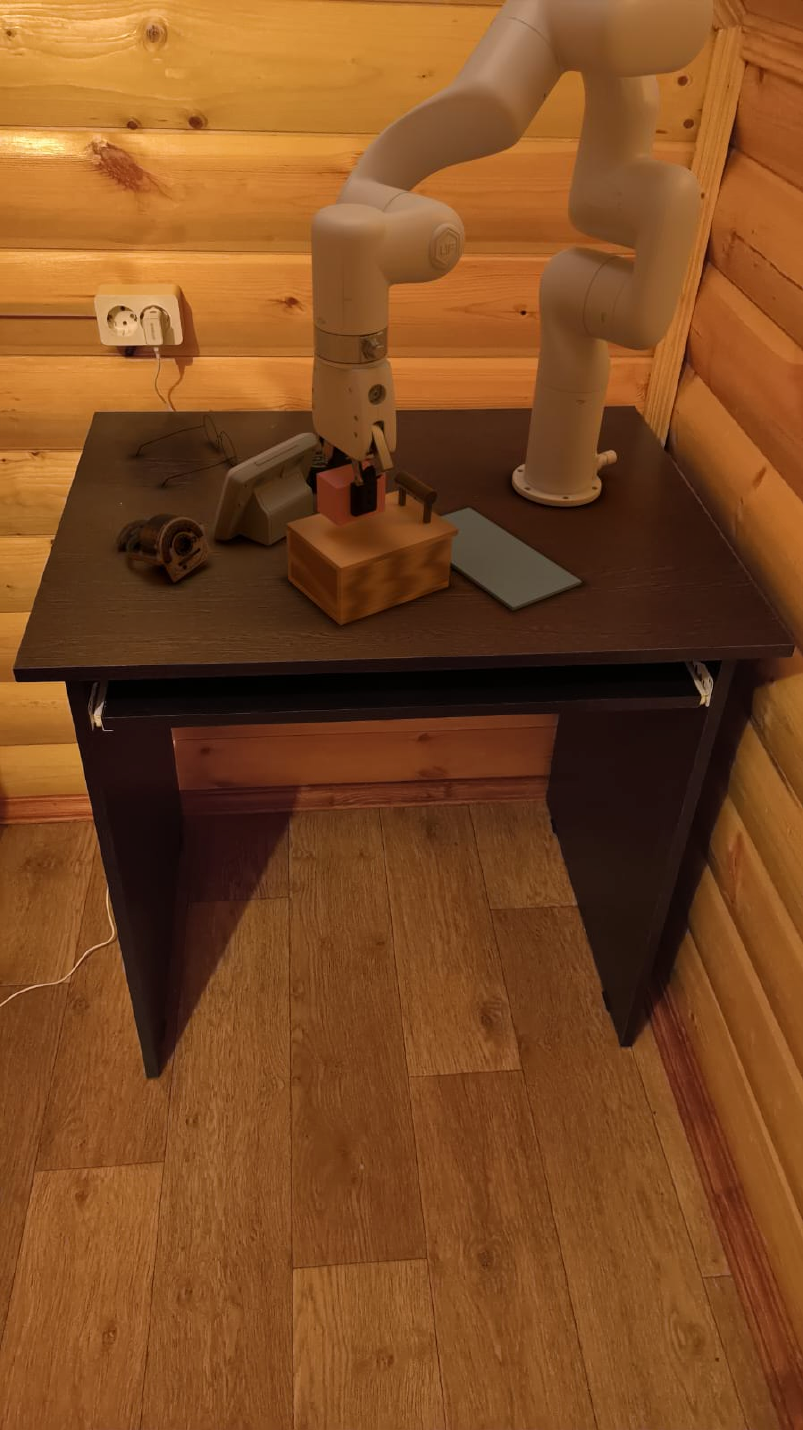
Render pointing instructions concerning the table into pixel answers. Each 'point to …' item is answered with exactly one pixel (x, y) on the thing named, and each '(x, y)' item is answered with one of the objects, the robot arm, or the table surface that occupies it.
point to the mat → (503, 562)
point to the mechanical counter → (167, 543)
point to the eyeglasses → (210, 442)
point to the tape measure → (316, 469)
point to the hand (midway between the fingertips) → (351, 502)
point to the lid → (377, 529)
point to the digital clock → (267, 492)
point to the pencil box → (368, 579)
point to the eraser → (343, 494)
